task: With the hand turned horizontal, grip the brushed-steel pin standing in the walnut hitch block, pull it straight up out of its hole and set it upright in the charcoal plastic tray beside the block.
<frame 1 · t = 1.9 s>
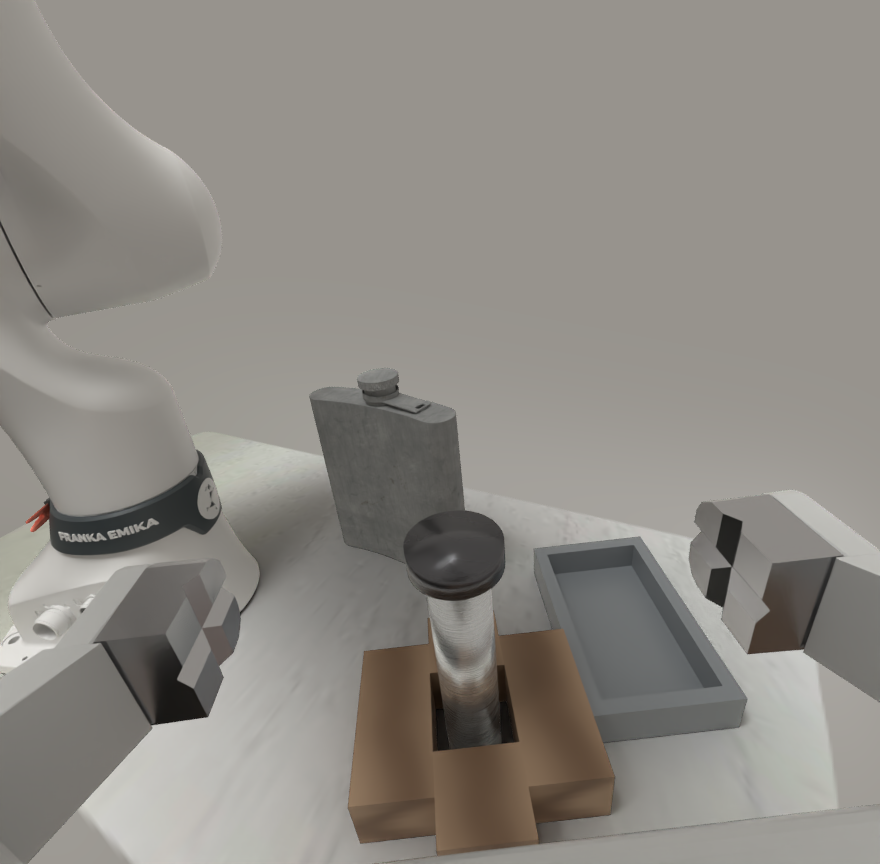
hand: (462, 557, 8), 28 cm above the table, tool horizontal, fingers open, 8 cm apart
tray: (617, 635, 39), on the table
steel pin: (465, 655, 29), in the hitch block
hitch block: (475, 741, 33), on the table
hip flask: (405, 554, 50), on the table
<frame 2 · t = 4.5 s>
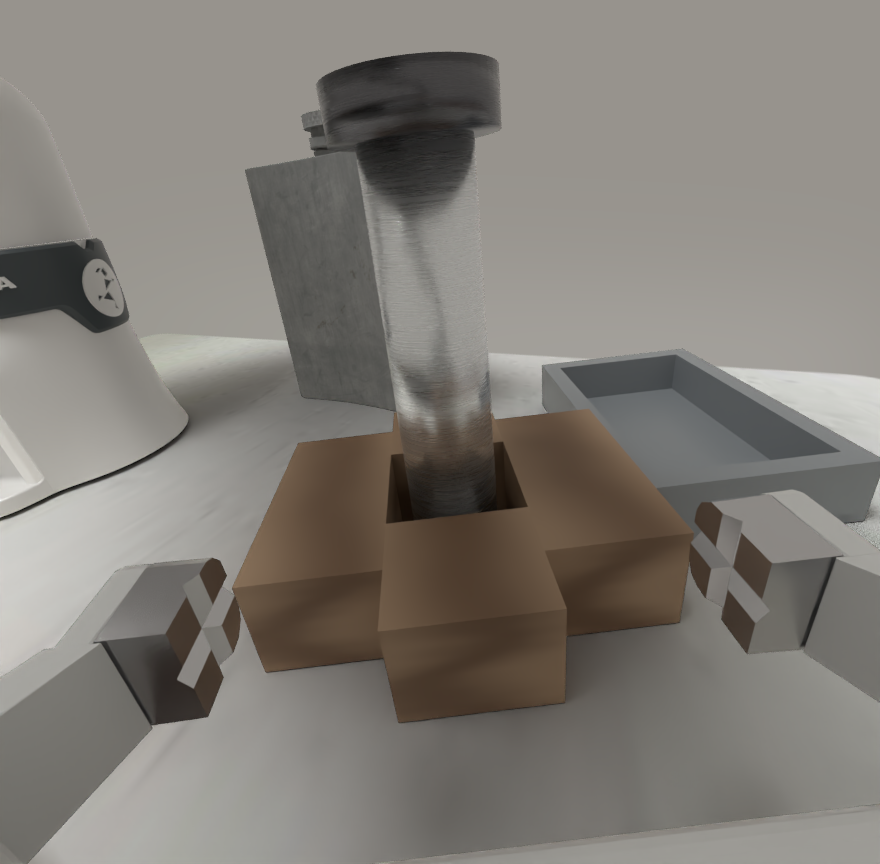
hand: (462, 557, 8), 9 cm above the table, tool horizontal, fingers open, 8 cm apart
tray: (661, 447, 28), on the table
steel pin: (439, 368, 18), in the hitch block
hitch block: (459, 553, 21), on the table
hip flask: (377, 401, 39), on the table
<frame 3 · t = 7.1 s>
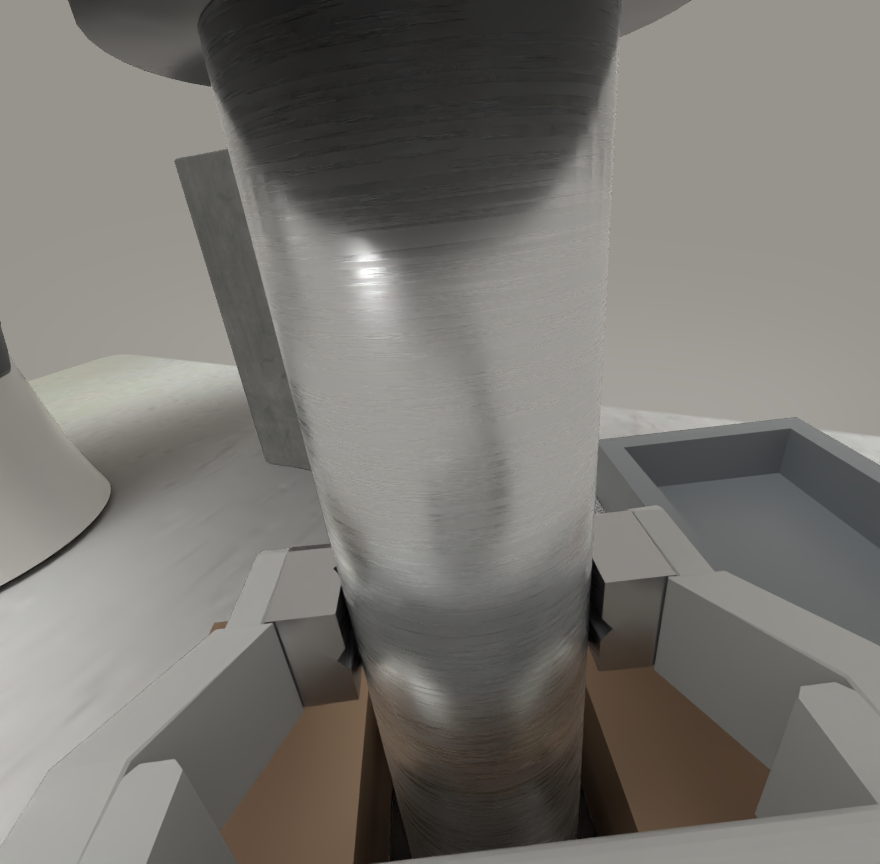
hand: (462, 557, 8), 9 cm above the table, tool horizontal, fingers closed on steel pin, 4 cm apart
tray: (799, 594, 18), on the table
steel pin: (469, 609, 8), in the hitch block, touching gripper
hip flask: (364, 472, 29), on the table
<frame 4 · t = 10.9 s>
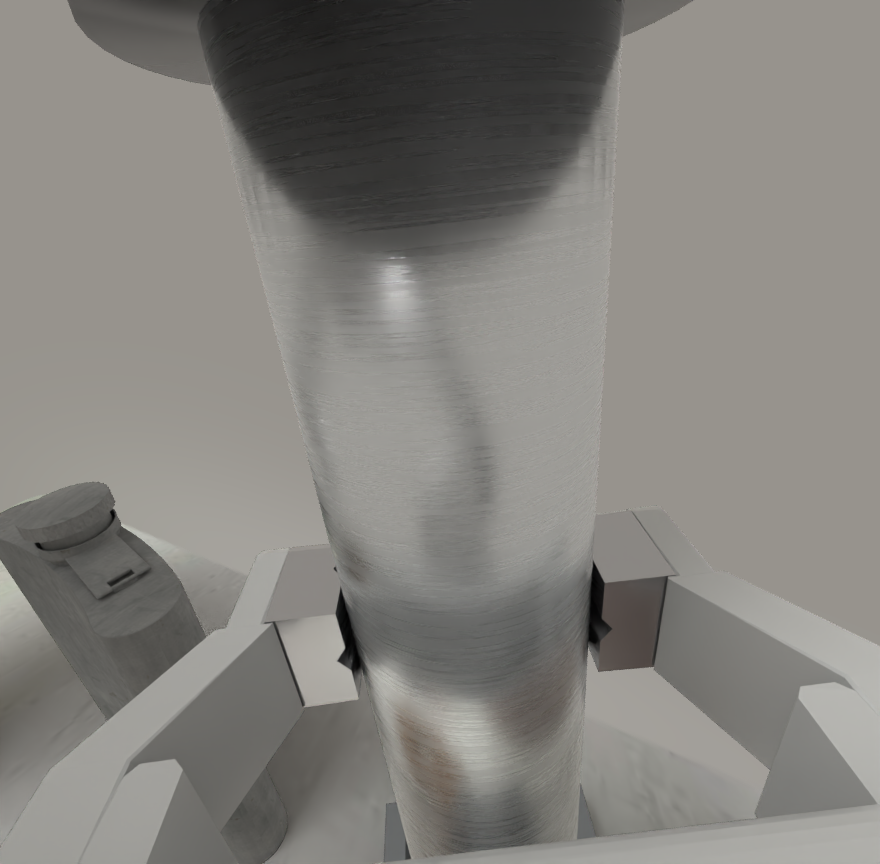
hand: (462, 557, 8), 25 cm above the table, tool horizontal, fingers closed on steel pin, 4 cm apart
steel pin: (469, 611, 8), point 25 cm above the table, touching gripper
hip flask: (202, 764, 30), on the table
when the fingers open (10 cm above the table, at t = 14.7 s): steel pin stays where it is, resting on tray.
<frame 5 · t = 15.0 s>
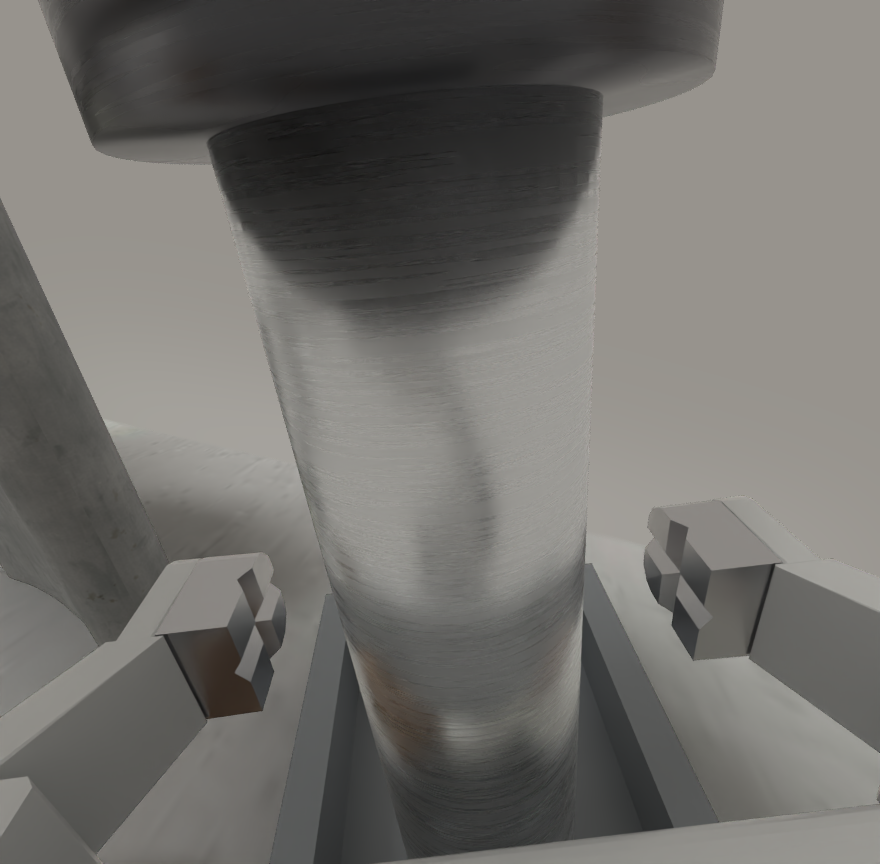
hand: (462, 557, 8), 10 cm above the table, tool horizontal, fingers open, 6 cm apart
steel pin: (466, 646, 8), in the tray
hip flask: (105, 596, 24), on the table
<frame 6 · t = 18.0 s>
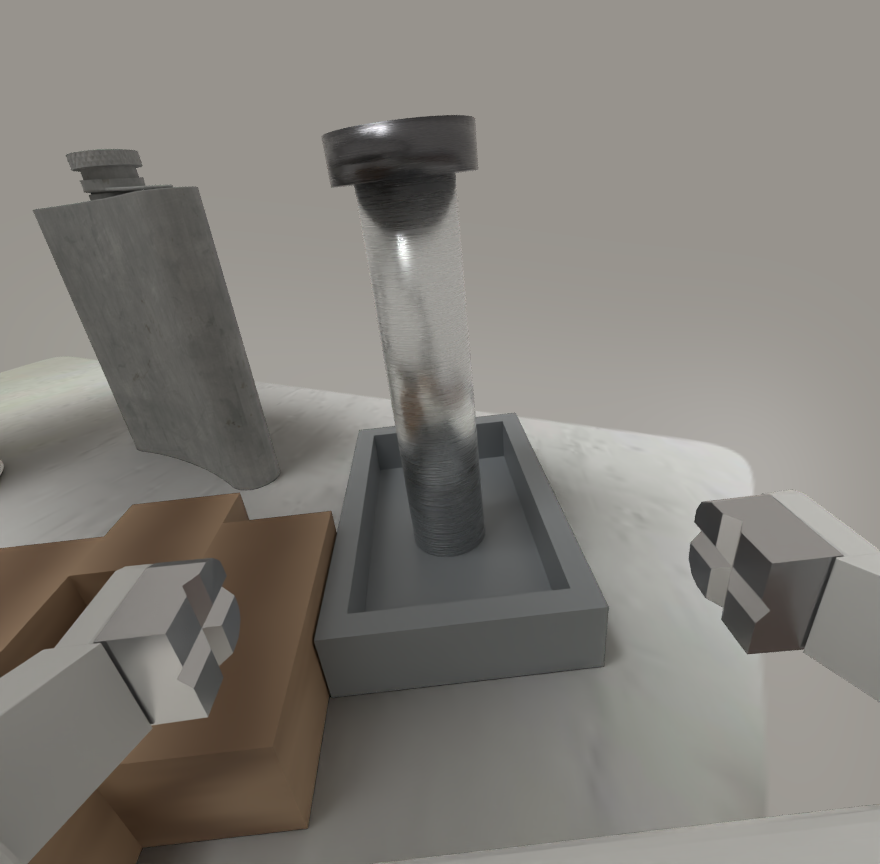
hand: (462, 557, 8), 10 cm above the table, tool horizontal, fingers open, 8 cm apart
tray: (451, 539, 25), on the table
steel pin: (429, 370, 20), in the tray
hitch block: (140, 695, 18), on the table
hip flask: (208, 457, 36), on the table
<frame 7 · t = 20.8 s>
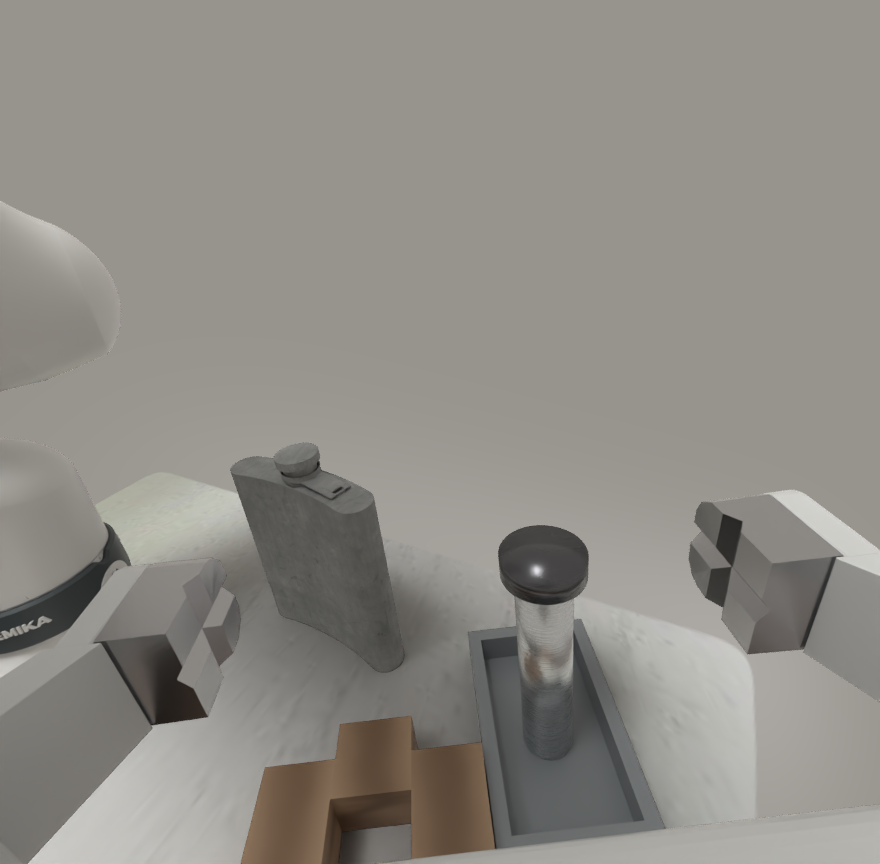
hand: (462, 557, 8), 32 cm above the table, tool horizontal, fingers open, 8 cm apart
tray: (547, 738, 36), on the table
steel pin: (545, 654, 32), in the tray
hip flask: (340, 628, 48), on the table
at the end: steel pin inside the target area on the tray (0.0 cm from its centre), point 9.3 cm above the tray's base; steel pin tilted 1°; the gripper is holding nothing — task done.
